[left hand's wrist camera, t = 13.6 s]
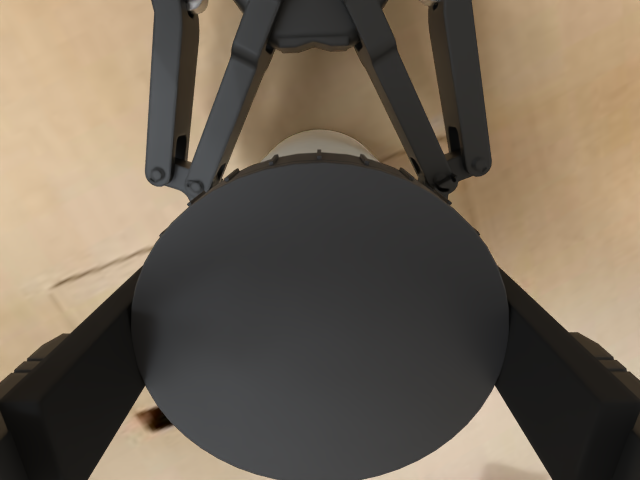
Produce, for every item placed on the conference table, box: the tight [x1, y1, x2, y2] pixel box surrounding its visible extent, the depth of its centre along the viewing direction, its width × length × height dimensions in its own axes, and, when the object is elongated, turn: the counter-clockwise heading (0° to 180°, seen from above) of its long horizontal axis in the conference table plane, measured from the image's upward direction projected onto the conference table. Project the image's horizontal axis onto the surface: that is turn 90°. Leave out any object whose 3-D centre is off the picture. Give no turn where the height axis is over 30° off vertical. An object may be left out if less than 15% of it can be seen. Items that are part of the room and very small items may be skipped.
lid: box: [131, 149, 509, 480], centre depth 11 cm, size 10×10×2 cm
